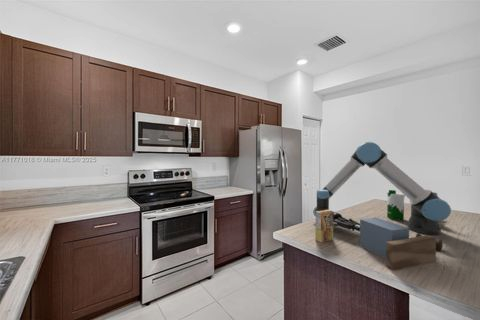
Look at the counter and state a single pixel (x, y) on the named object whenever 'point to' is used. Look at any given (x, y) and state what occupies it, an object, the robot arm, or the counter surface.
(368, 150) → the robot arm
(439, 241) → the kendama
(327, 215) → the candy box
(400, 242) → the board
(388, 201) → the milk carton
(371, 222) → the block
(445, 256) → the counter surface
